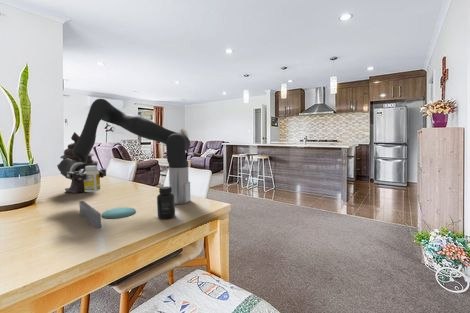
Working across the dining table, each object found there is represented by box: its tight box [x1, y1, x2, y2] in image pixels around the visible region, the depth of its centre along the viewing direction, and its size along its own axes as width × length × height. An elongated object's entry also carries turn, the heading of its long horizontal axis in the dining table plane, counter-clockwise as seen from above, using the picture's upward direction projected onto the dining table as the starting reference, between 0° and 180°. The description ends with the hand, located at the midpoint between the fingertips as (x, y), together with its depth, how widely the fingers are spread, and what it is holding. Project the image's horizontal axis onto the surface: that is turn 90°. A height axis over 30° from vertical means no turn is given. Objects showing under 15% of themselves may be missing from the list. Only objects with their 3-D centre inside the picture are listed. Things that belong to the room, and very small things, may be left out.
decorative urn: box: [56, 131, 99, 194], centre depth 146 cm, size 20×20×35 cm
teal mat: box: [100, 206, 137, 220], centre depth 105 cm, size 13×13×1 cm
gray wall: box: [78, 200, 102, 229], centre depth 97 cm, size 24×2×5 cm, turn 44°
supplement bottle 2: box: [156, 186, 176, 220], centre depth 100 cm, size 7×7×12 cm
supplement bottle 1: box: [84, 165, 101, 193], centre depth 96 cm, size 5×5×10 cm
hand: (93, 175), depth 94 cm, fingers closed on supplement bottle 1, 5 cm apart
